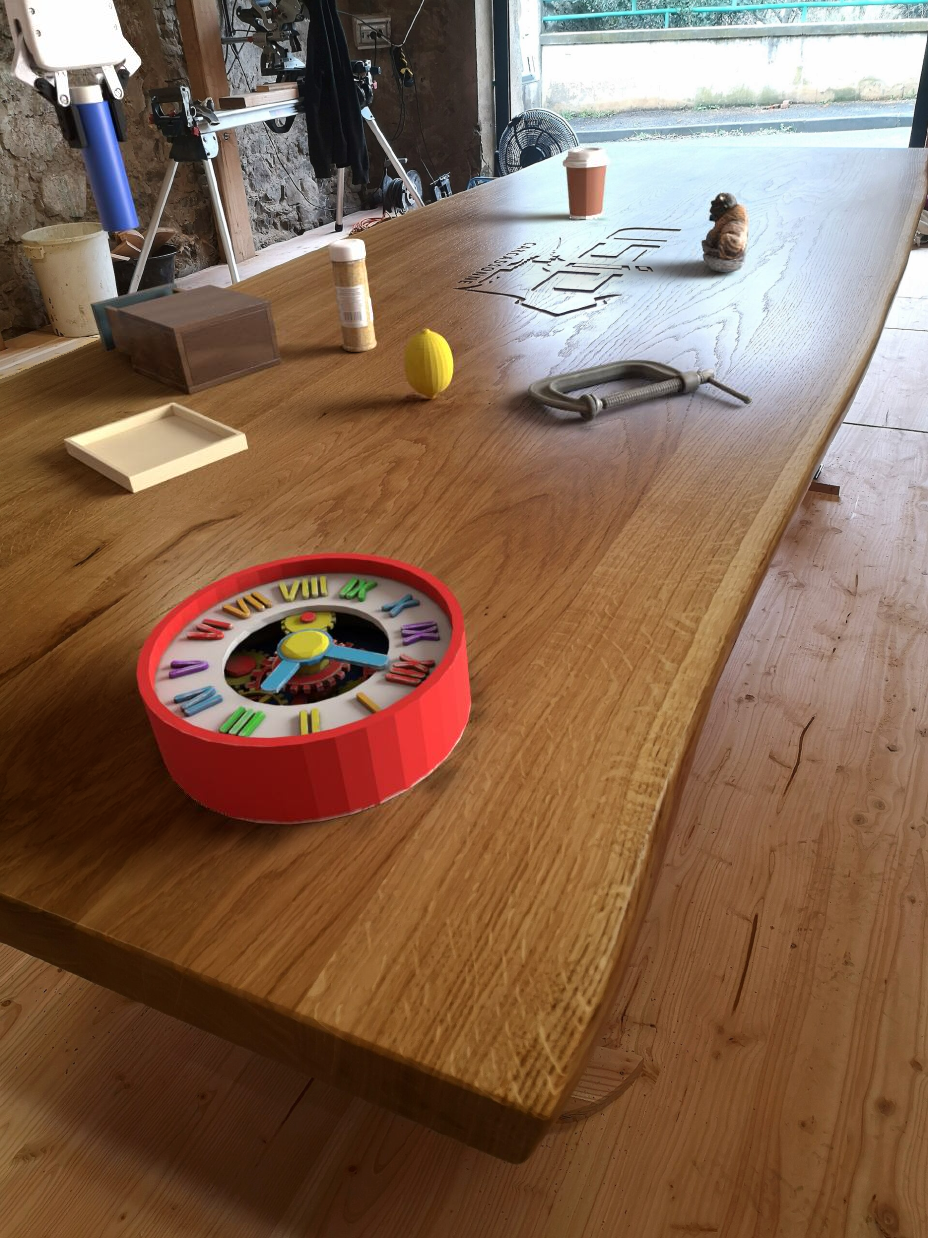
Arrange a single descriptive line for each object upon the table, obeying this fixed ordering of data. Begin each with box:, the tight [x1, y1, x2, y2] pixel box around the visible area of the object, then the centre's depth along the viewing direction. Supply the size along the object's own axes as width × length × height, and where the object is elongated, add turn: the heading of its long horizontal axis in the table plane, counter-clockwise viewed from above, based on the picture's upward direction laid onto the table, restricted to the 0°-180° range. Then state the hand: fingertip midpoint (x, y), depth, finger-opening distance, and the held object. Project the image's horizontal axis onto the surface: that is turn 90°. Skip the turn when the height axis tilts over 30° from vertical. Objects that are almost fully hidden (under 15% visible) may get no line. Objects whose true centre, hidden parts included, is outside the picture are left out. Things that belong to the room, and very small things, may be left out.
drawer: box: [90, 282, 187, 356], centre depth 123 cm, size 18×12×6 cm
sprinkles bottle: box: [327, 238, 377, 353], centre depth 117 cm, size 5×5×14 cm
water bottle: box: [68, 84, 140, 233], centre depth 98 cm, size 4×4×14 cm
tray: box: [63, 401, 249, 494], centre depth 95 cm, size 15×13×2 cm
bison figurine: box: [701, 191, 749, 273], centre depth 139 cm, size 12×7×10 cm, turn 175°
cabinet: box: [117, 284, 282, 395], centre depth 116 cm, size 15×14×8 cm
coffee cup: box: [562, 146, 611, 221], centre depth 177 cm, size 9×9×12 cm
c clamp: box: [527, 359, 753, 422], centre depth 98 cm, size 20×17×3 cm
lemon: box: [403, 328, 454, 400], centre depth 101 cm, size 6×6×8 cm
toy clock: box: [135, 552, 472, 825], centre depth 57 cm, size 20×6×20 cm
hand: (98, 142), depth 98 cm, fingers closed on water bottle, 4 cm apart
